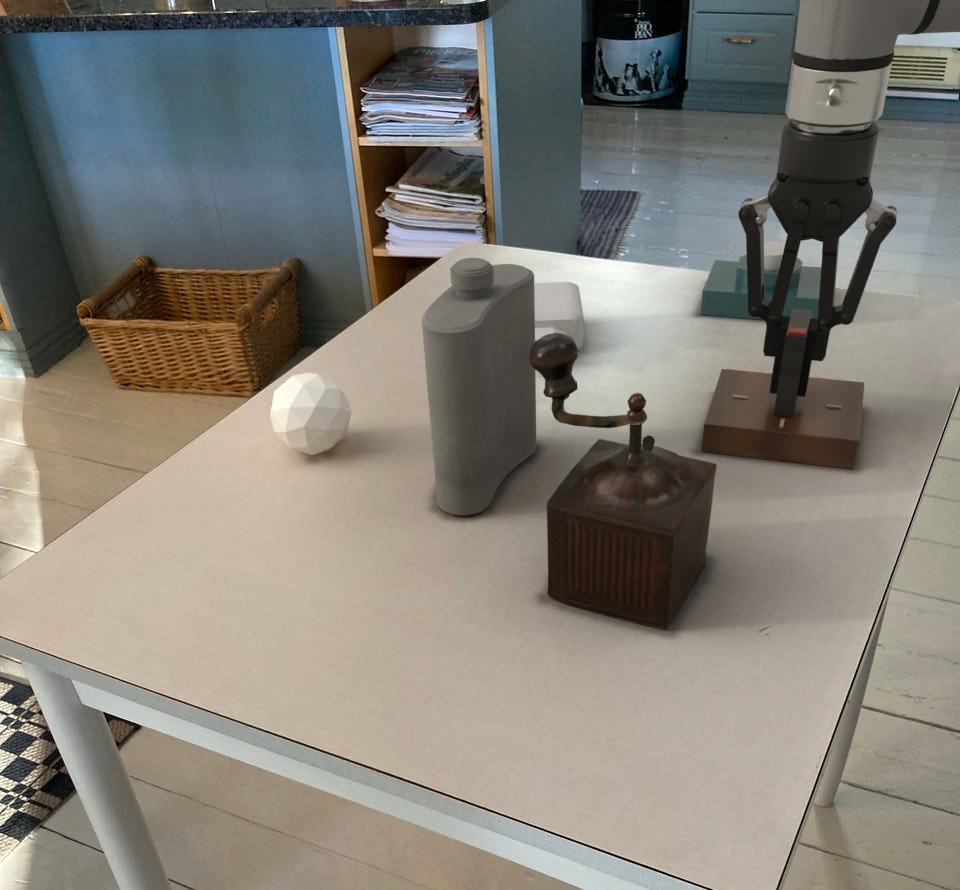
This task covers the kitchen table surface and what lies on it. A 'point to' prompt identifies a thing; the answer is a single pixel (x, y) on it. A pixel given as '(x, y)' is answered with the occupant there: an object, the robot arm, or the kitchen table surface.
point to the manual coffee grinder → (622, 511)
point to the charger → (559, 310)
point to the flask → (480, 381)
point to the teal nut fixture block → (731, 292)
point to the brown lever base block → (785, 421)
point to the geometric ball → (310, 413)
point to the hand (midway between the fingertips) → (788, 388)
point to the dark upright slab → (792, 362)
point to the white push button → (773, 255)
